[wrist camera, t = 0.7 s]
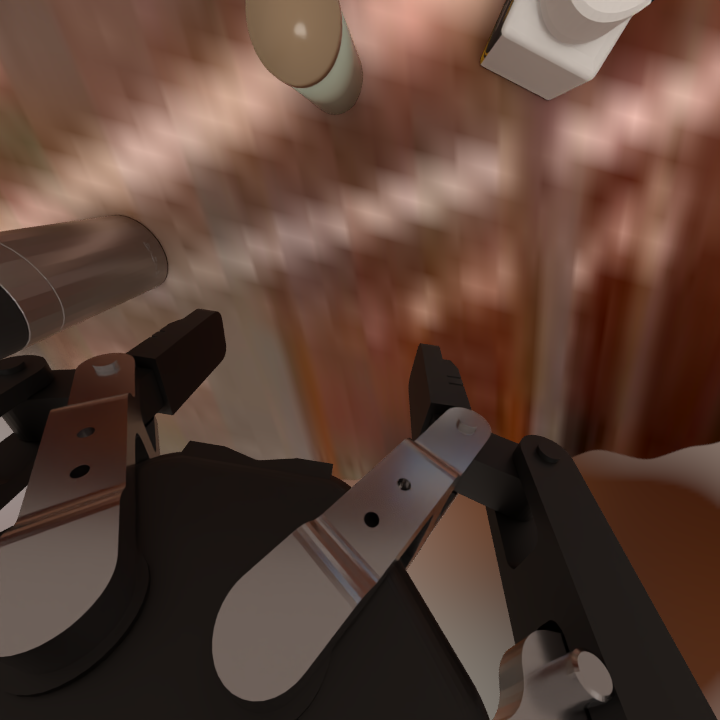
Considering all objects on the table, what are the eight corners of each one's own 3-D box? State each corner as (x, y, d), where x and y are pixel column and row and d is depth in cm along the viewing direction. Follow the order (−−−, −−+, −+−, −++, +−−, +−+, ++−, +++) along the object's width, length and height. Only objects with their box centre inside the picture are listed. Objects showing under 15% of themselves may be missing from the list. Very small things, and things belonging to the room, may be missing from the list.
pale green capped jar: (307, 115, 28) (254, 83, 18) (302, 34, 25) (236, -57, 15) (362, 116, 28) (339, 84, 18) (364, 34, 25) (338, -60, 15)
